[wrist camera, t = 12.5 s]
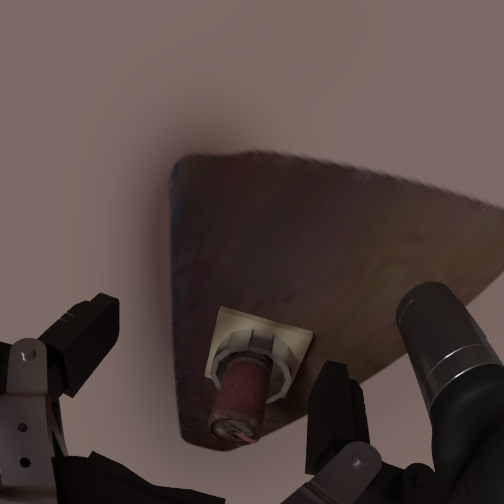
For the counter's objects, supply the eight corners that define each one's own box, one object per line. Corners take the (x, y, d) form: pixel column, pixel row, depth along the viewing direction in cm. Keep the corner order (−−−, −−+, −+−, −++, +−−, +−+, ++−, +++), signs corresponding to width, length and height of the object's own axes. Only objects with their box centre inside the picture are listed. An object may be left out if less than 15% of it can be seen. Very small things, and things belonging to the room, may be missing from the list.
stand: (312, 331, 43) (312, 336, 42) (285, 393, 48) (284, 398, 47) (221, 306, 44) (219, 310, 43) (206, 371, 49) (204, 376, 48)
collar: (302, 340, 43) (301, 359, 39) (279, 392, 47) (277, 411, 43) (225, 319, 43) (218, 336, 39) (212, 373, 47) (205, 391, 44)
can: (266, 379, 46) (251, 454, 33) (226, 365, 46) (201, 437, 33) (281, 351, 44) (270, 428, 31) (238, 336, 44) (214, 409, 31)
